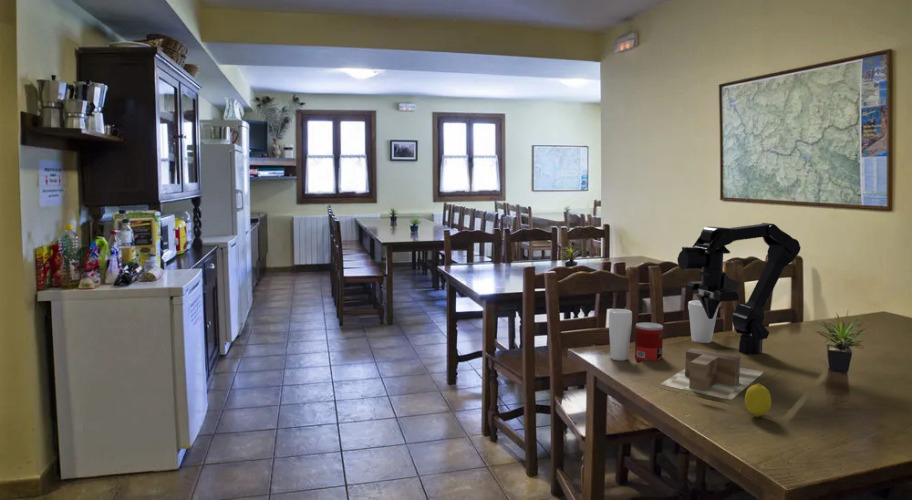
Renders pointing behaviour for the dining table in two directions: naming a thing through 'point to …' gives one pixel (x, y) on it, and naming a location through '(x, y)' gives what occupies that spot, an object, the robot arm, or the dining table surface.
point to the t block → (711, 369)
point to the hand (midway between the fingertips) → (710, 318)
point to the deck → (717, 389)
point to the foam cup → (700, 322)
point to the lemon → (758, 400)
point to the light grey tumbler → (619, 333)
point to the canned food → (648, 341)
